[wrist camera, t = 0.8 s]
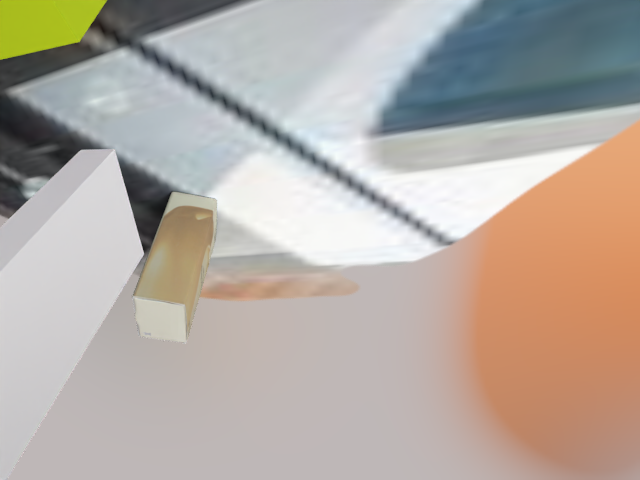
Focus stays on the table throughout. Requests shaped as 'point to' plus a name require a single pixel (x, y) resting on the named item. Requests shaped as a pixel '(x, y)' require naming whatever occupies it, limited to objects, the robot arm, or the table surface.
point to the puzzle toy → (43, 24)
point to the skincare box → (176, 268)
